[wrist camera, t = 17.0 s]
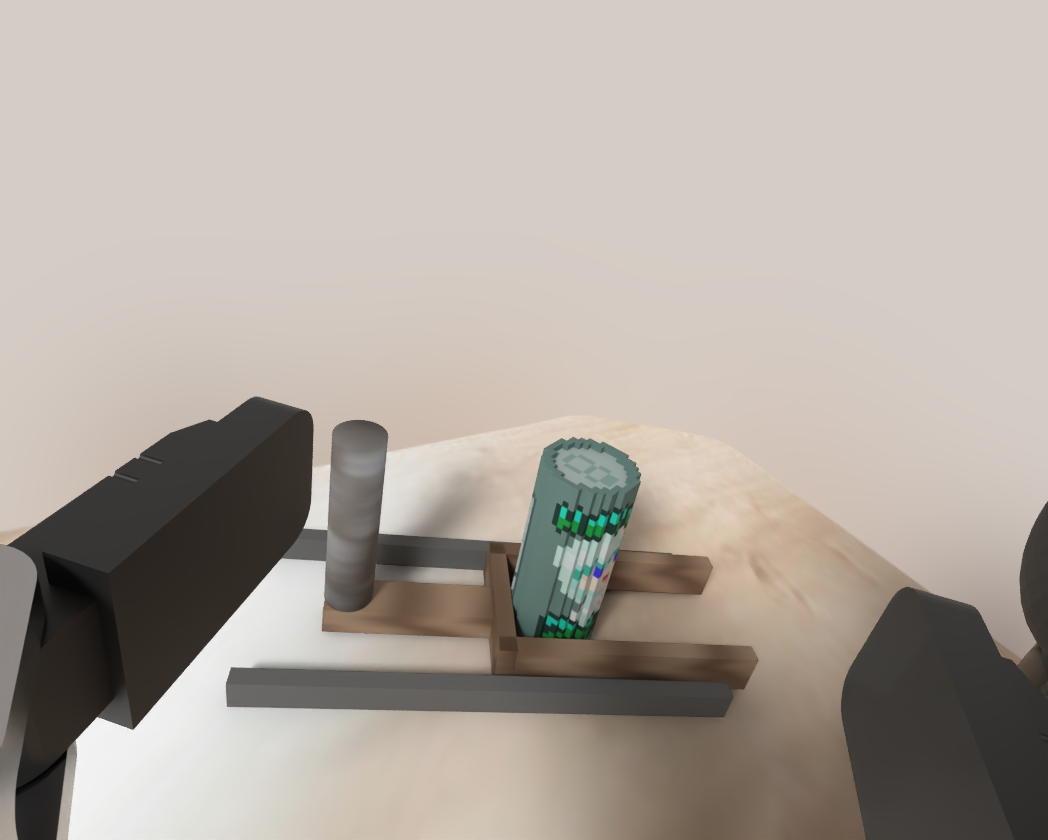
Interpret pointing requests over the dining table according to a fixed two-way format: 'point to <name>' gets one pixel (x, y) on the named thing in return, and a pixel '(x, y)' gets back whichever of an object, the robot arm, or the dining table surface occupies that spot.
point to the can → (572, 538)
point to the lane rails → (455, 688)
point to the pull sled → (494, 591)
